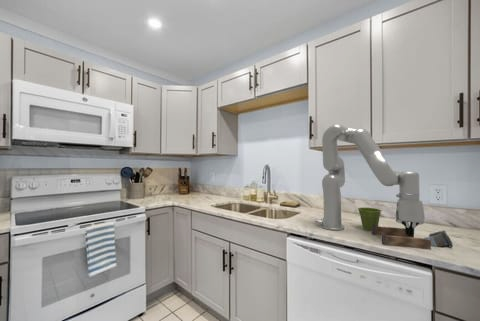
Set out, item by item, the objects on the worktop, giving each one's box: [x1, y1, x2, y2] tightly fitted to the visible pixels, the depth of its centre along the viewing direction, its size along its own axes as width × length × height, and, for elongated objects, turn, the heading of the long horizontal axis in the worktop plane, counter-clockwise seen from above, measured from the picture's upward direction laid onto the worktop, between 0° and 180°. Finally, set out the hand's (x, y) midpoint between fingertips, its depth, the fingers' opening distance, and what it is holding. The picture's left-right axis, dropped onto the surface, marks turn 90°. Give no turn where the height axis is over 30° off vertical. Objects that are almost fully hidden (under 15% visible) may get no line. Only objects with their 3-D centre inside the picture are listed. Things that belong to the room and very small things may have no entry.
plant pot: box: [357, 206, 383, 232], centre depth 122 cm, size 12×12×11 cm
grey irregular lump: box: [424, 230, 454, 248], centre depth 98 cm, size 10×7×12 cm
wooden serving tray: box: [371, 224, 432, 250], centre depth 103 cm, size 18×17×5 cm
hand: (409, 235), depth 102 cm, fingers closed
